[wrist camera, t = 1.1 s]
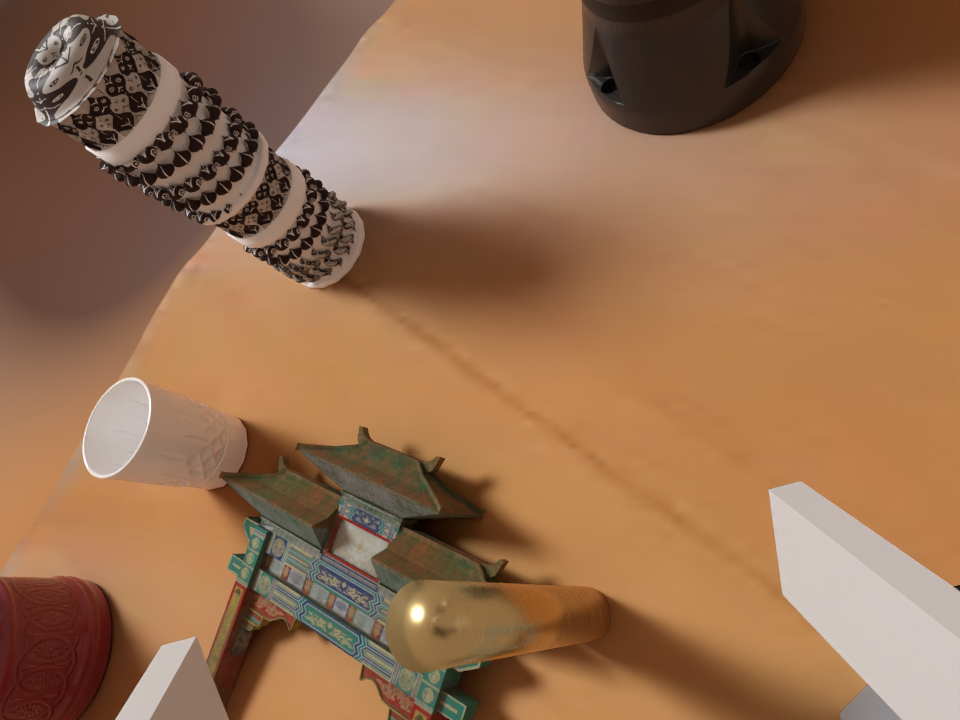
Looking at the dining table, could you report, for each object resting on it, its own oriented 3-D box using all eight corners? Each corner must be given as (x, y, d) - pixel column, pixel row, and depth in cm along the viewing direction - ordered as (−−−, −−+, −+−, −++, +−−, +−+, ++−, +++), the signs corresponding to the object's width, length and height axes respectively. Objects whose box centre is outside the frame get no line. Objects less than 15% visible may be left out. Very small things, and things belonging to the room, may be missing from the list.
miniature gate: (106, 773, 45) (251, 386, 48) (174, 751, 50) (302, 400, 53) (369, 1085, 31) (553, 506, 34) (431, 1014, 36) (588, 511, 38)
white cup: (186, 503, 56) (74, 486, 47) (194, 419, 59) (91, 390, 50) (250, 488, 52) (143, 467, 44) (256, 400, 56) (157, 366, 47)
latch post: (565, 581, 38) (396, 571, 23) (613, 593, 36) (466, 590, 21) (557, 633, 37) (376, 658, 22) (606, 647, 35) (447, 684, 20)
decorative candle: (300, 311, 57) (-2, 146, 36) (283, 239, 61) (6, 56, 40) (378, 257, 54) (102, 47, 33) (355, 186, 59) (99, -38, 38)
